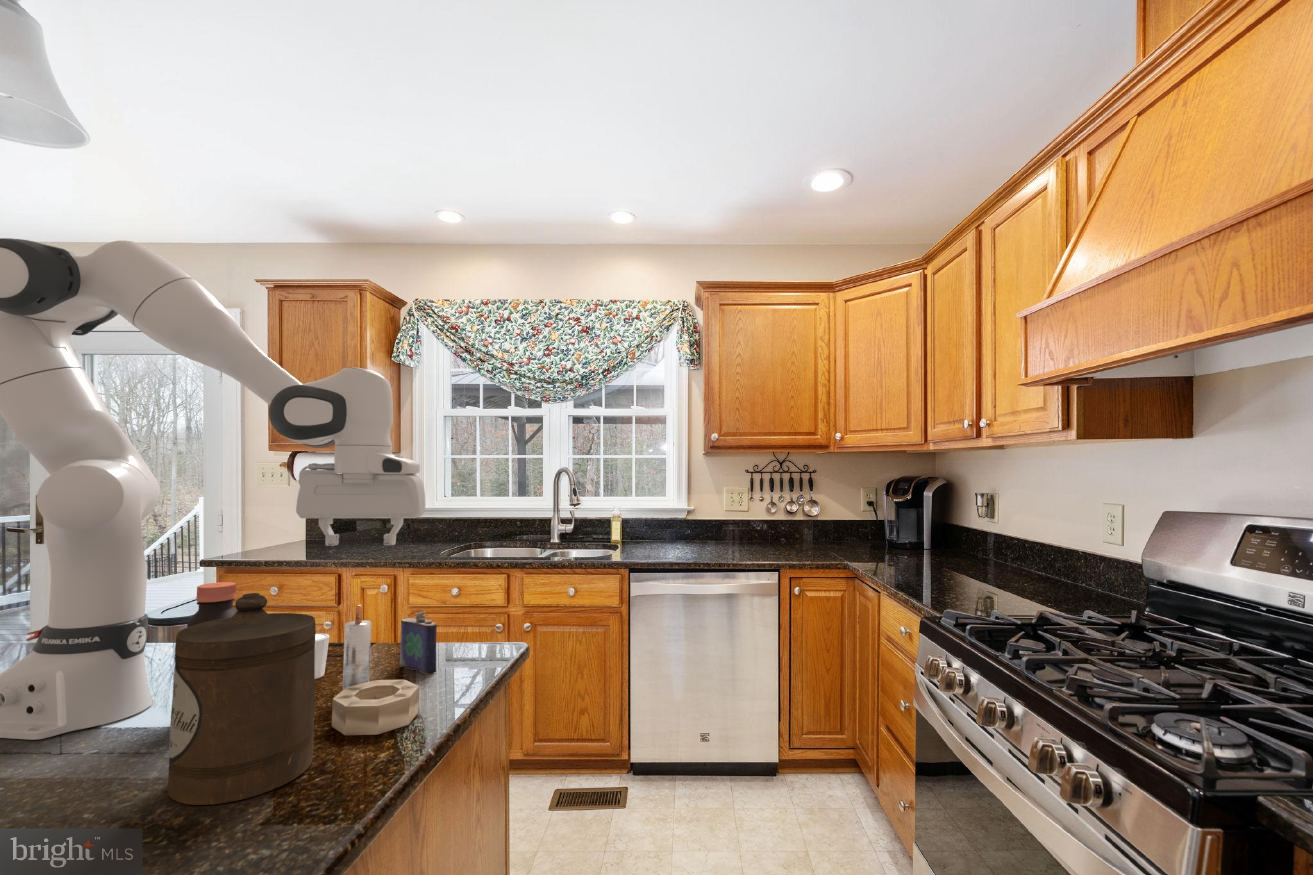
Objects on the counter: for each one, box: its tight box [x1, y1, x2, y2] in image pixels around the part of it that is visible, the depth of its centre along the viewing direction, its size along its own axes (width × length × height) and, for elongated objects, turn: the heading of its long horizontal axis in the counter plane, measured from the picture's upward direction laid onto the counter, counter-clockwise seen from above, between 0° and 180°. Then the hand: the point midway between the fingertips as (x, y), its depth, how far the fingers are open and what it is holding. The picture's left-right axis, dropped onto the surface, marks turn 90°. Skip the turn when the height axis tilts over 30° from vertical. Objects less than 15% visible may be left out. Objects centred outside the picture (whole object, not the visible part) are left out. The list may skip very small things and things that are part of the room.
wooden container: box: [167, 592, 317, 806], centre depth 75 cm, size 15×15×22 cm
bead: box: [331, 679, 420, 736], centre depth 92 cm, size 11×11×4 cm
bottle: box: [186, 581, 238, 628], centre depth 92 cm, size 7×7×20 cm
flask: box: [399, 611, 438, 675], centre depth 116 cm, size 9×3×11 cm, turn 58°
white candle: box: [341, 604, 372, 692], centre depth 101 cm, size 4×4×15 cm
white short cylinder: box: [314, 632, 330, 680], centre depth 111 cm, size 7×7×7 cm
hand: (360, 545), depth 102 cm, fingers open, 8 cm apart
